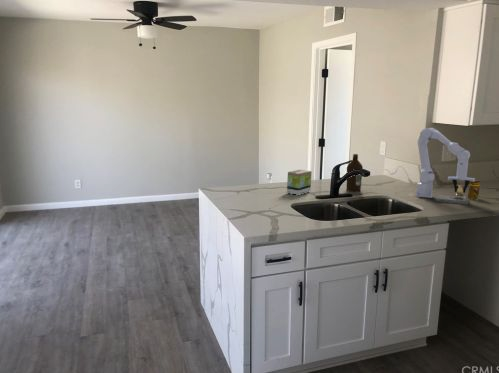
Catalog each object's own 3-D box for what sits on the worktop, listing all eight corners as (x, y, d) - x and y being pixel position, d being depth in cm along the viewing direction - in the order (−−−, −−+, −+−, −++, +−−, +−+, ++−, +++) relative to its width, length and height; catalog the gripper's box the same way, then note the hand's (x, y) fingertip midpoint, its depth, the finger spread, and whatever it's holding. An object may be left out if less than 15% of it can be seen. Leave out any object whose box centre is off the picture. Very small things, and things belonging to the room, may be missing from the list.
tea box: (299, 196, 273) (300, 173, 270) (286, 193, 279) (286, 171, 276) (311, 192, 285) (311, 170, 282) (298, 190, 291) (298, 168, 287)
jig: (435, 201, 261) (436, 198, 260) (435, 197, 271) (435, 194, 270) (468, 204, 254) (468, 201, 254) (466, 200, 264) (467, 197, 264)
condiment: (478, 200, 265) (480, 181, 262) (463, 198, 269) (465, 180, 266) (478, 198, 271) (481, 179, 269) (464, 196, 275) (466, 178, 273)
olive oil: (342, 190, 292) (344, 154, 286) (351, 188, 299) (353, 152, 294) (355, 192, 284) (358, 155, 279) (364, 190, 291) (366, 154, 286)
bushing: (455, 195, 259) (456, 186, 258) (455, 194, 263) (456, 184, 261) (463, 196, 257) (464, 186, 256) (463, 195, 261) (464, 185, 260)
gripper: (449, 170, 256) (446, 192, 259) (476, 172, 251) (473, 194, 253) (448, 168, 262) (446, 190, 265) (475, 170, 257) (472, 192, 260)
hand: (459, 192), depth 260 cm, fingers closed on bushing, 4 cm apart
